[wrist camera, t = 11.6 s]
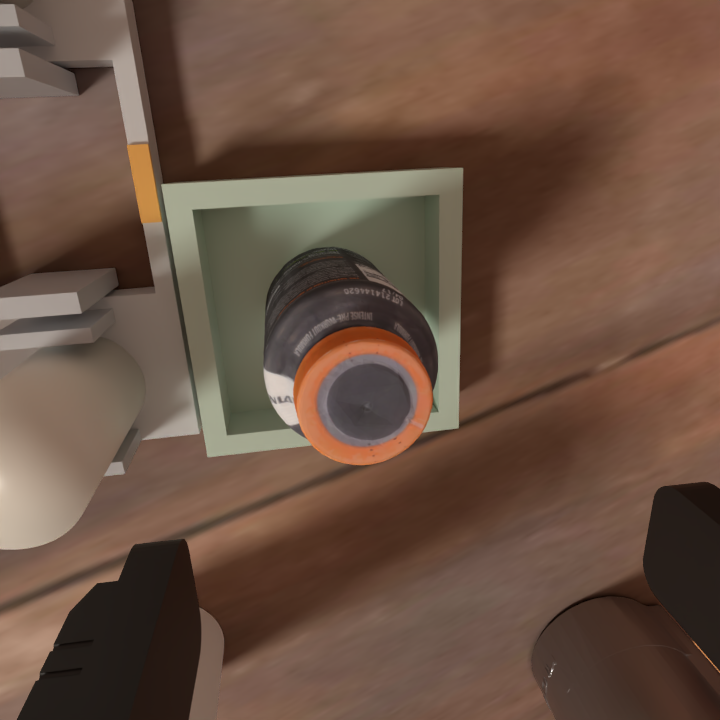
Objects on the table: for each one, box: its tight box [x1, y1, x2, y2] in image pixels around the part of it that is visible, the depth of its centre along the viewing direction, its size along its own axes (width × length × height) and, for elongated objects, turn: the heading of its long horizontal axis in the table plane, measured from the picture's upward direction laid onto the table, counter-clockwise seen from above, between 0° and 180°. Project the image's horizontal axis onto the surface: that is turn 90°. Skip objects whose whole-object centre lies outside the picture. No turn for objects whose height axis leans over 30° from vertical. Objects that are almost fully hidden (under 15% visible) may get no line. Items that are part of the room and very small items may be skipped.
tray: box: [161, 167, 463, 457], centre depth 25 cm, size 12×12×3 cm
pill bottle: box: [263, 247, 438, 465], centre depth 20 cm, size 6×6×11 cm
